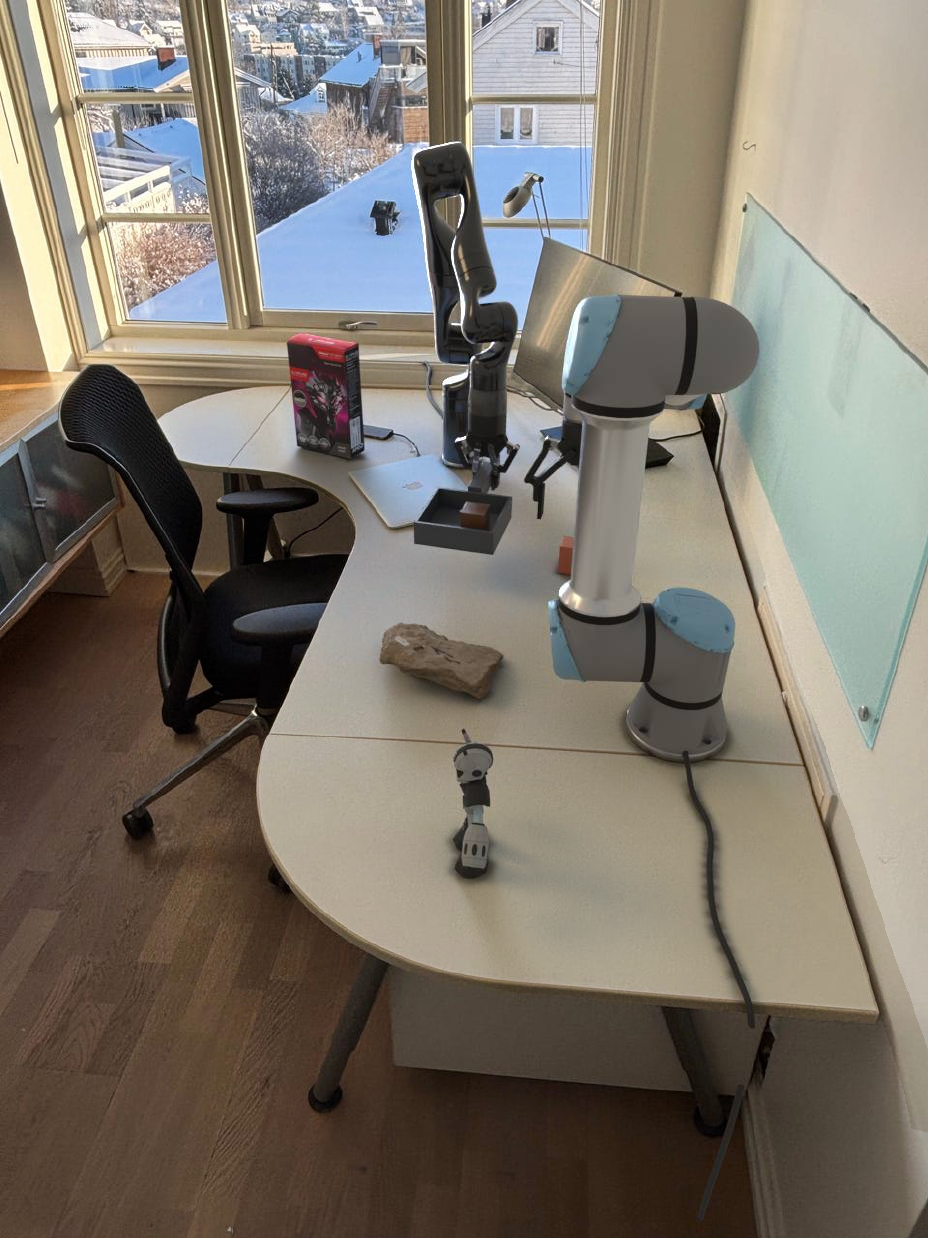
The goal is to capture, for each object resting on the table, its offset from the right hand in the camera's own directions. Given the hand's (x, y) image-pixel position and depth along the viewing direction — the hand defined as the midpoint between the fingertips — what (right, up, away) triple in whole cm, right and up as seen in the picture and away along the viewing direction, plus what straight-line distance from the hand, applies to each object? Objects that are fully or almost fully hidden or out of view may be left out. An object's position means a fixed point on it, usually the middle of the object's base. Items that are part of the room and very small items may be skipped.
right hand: (574, 520), depth 178 cm
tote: (-20, +1, +3) cm, 20 cm away
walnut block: (-19, -3, -5) cm, 20 cm away
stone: (-26, -28, -23) cm, 45 cm away
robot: (-20, -50, -56) cm, 78 cm away
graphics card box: (-55, +24, +53) cm, 80 cm away
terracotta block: (0, -9, +6) cm, 11 cm away
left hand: (-17, +8, +11) cm, 22 cm away
